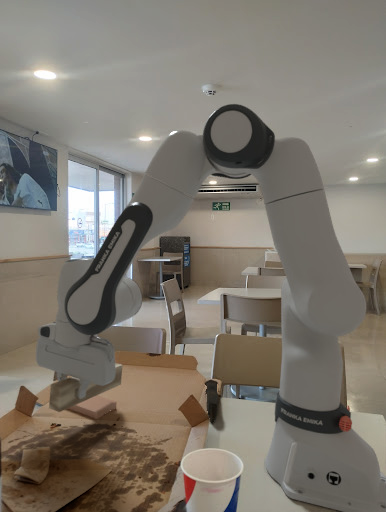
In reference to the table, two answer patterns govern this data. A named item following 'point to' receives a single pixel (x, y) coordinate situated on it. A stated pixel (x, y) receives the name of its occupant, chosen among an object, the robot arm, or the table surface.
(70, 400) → the gray bar
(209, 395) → the hand tool
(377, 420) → the table surface
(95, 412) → the tile
